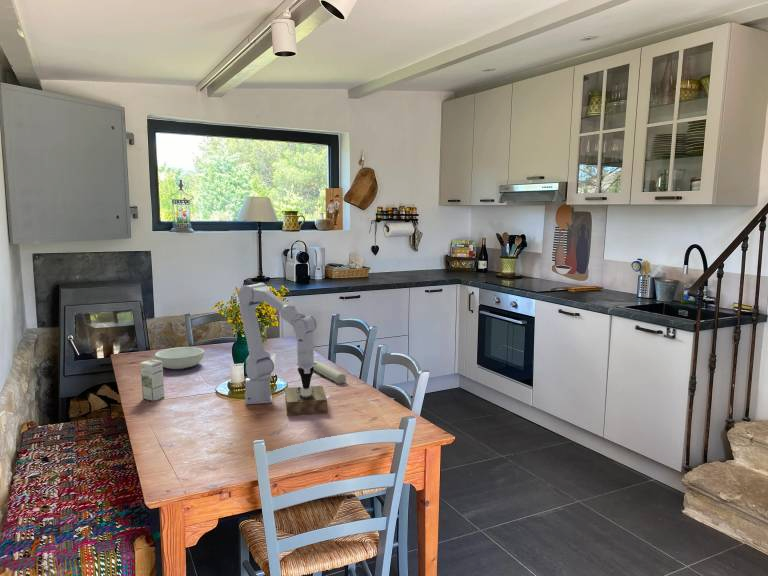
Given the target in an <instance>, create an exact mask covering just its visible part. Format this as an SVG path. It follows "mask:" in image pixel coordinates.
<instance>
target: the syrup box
mask: <svg viewBox="0 0 768 576" xmlns="http://www.w3.org/2000/svg"><path fill="white" fill-rule="evenodd" d="M139 364H140V373H141V374H140V375H141V376H140V377H141V390H142V391H141V392H142V400H144V399H146V400H145V401H149V400H151V401H150V402H155V401H154V400H156V401H158V400H157V399H159V400H161V399H163V398H162V397H164V398H165V385H164V384H165V383H164V367H163V366H162V361H158V360H156V359H152V358H151V359H148V360H144V361H141V362H140V363H139ZM160 398H161V399H160Z"/></svg>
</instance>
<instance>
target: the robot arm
mask: <svg viewBox="0 0 768 576" xmlns="http://www.w3.org/2000/svg"><path fill="white" fill-rule="evenodd" d="M237 297H238V301H239V307H238V309H239V313H240V317H241V322H242V327H243V331H244V336H245V339H246V344H247V348H248V352H249V354H248V356H247V358H246V359H245V364H246V365H245V373H246V375H247V377H246V378H245V384H244V388H245V391H244V392H245V393H244V398H245V405H258V404H271V403H273V396H272V394H271V393H272V392H271V391H272V389H271V376H272V373H273V372H274V370H275V364H274V363H275V362H274V361H273V359H272V357H271V354H270V353H269V352H267V351H266V350H265V347H264V343H263V338H262V333H261V330H260V326H259V321H258V316H257V313H256V310H257V308H258V306H259V305H260V304H261V303H265V304H267V305H268V306H270V307H271V308H273V309H274V310H276V311H277V312H279V314H280V318H282V319H283V320H284V321H286V322H287V323H288V324H289V325H290V326H292V328H293V330H294V333H295V337H296V344H297V345H296V348H297V349H296V352H297V356H296V357H297V360H296V361H297V362H296V366H297V372H298V374H299V376H300V379H301V384H302V386H303V388H309V386H311V380H312V377H313V374H314V373H315V371H314V367H313V366H314V365H317V361H314V360H315V359H314V356H315V355H314V353H315V352H314V347H315V346H314V343H315V342H314V331H315V330H316V328H317V321H316V319H315V317H313V315H306V314H305V313H304V312H302V311H300V310H299V309H298V308H297V307H296V305H295V304H286V303H285V302H284V301H282V300H281V298H280V297H278V296H277V295H276V294H275V293H273V292H272V291H271V288H270V287H269V286H268V285H266V284H265V283H264V282H258V283H255V284H249V285H247V284H246V285H242V286H241V287H240V288H239V291H238V292H237Z"/></svg>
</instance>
